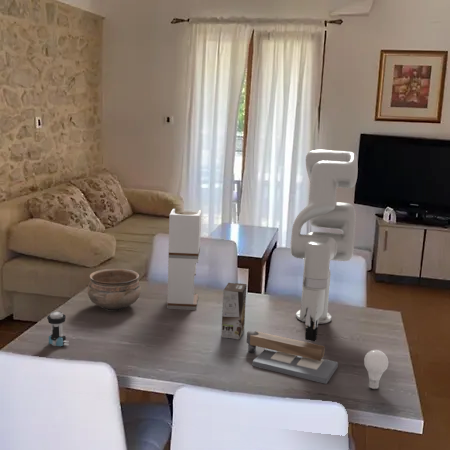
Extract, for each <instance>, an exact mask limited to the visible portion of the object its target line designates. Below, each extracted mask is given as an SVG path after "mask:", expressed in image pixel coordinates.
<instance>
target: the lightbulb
mask: <svg viewBox="0 0 450 450" xmlns="http://www.w3.org/2000/svg"><path fill="white" fill-rule="evenodd" d="M363 364H364V367H365V369H366V370H367V371H366V372H367V374H368V380H369V381H368V387H369V388H370V389H371V390H376V389H379V388H380V387H379V385H380V379H381V378H382V375H383V374H384V373H385V372H386V371H387V369H388V367H389V358H388V356H387V354H386V353H384V352H383V351H382V350H379V349H371V350H369V351H368V352H367V353H366V354H365V356H364V359H363Z"/></svg>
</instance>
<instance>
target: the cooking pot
mask: <svg viewBox="0 0 450 450" xmlns="http://www.w3.org/2000/svg"><path fill="white" fill-rule="evenodd" d="M139 277H140V274H139V273H138V271H137V272H136V271H134V270H132V269H131V270H130V269H126V268H105V269H99V270H96V271H93V272H92V273H90V274H89V279H90V280H89V283H88V285H87V296H88V298H89V300H90V301H91V302H92V303H93V304H94V305H96V306H98V307H100V308H102V309H105V310H106V311H108V312H109V311H110V312H115V311H116V312H119V311H122V310H123V309H125V308H127V307H130V306H131V305H133V304H134V303H135V302H137V300H138V299H139V297H140V296H141V291H142V287H141V284H140V281H139Z"/></svg>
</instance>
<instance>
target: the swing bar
mask: <svg viewBox="0 0 450 450" xmlns="http://www.w3.org/2000/svg"><path fill="white" fill-rule="evenodd" d="M246 344H247V345H248V344H250V345H253V346H256V347H258V348H263V349H271V350H275V351H279V352H284V353H288V354H292V355H297V356H301V357H305V358H310V359H314V360H318V361H321V359H324V356H325V351H326V345H320V344H316V343H311V342H308V341H303V340H298V339H293V338H288V337H284V336H280V335H276V334H275V335H274V334H271V333H266V332H262V331H257V330H249V331H247V332H246Z"/></svg>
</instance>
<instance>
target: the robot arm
mask: <svg viewBox="0 0 450 450" xmlns="http://www.w3.org/2000/svg"><path fill="white" fill-rule="evenodd" d="M305 168H306V173H307V176H308V179H309V182H310V185H309V186H310V187H309V195H308V196H309V198H308V204H307V206H306V207H304V208H303V209H302V210H301V211H300V212H299V213H298V214H297V215H296V217H295V219H294V222H293V224H292V227H291V236H290V245H289V246H290V254H291V255H292V256H293V257H294V258H296V259H302V260H303V274H302V276H303V277H302V287H301V288H302V290H301V298H300V299H301V301H300V309H299V310H297V311H296V313H295V317H296V318H297V320H299V321H301V322H304V323H305V324H304V325H305V333H304V334H305V336H304V339H305V340H306V341H309V342H310V341H311V342H316V341H317V339H318V330H319V328H318V327H319V326H318V325H321V324H328V323H330V322H331V321H332V314H331V313H329V312H328V310H329V299H330V298H329V297H330V286H331V275H332V274H331V270H330V265H331V264H330V263H331V261H338V262H349V261H350V260H352V259H353V256H354V251H355V250H354V249H355V235H356V223H357V222H356V221H357V215H356V214H357V213H356V208H355V206H354V205H353V204H352V203H349V202H343V201H342V202H340V201H337V191H338V190H337V189H338V188H344V189H345V188H346V189H351V188H353V187H355V185H356V183H357V179H358V173H359V172H358V170H359V168H358V157H357V154H356V153H355V152H354V151H349V150H347V151H346V150H331V149H315V150H310V151H309V152H307V153H306V156H305ZM308 221H309V223H310V225H311V226H312V227H315V228H319V229H329V230H339V231H340V232H341V233H337V232H328V231H327V232H325V231H311V232H308V233H306V234H301V231H302V228H303V226H304V225H305V224H306V223H307V222H308Z"/></svg>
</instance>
